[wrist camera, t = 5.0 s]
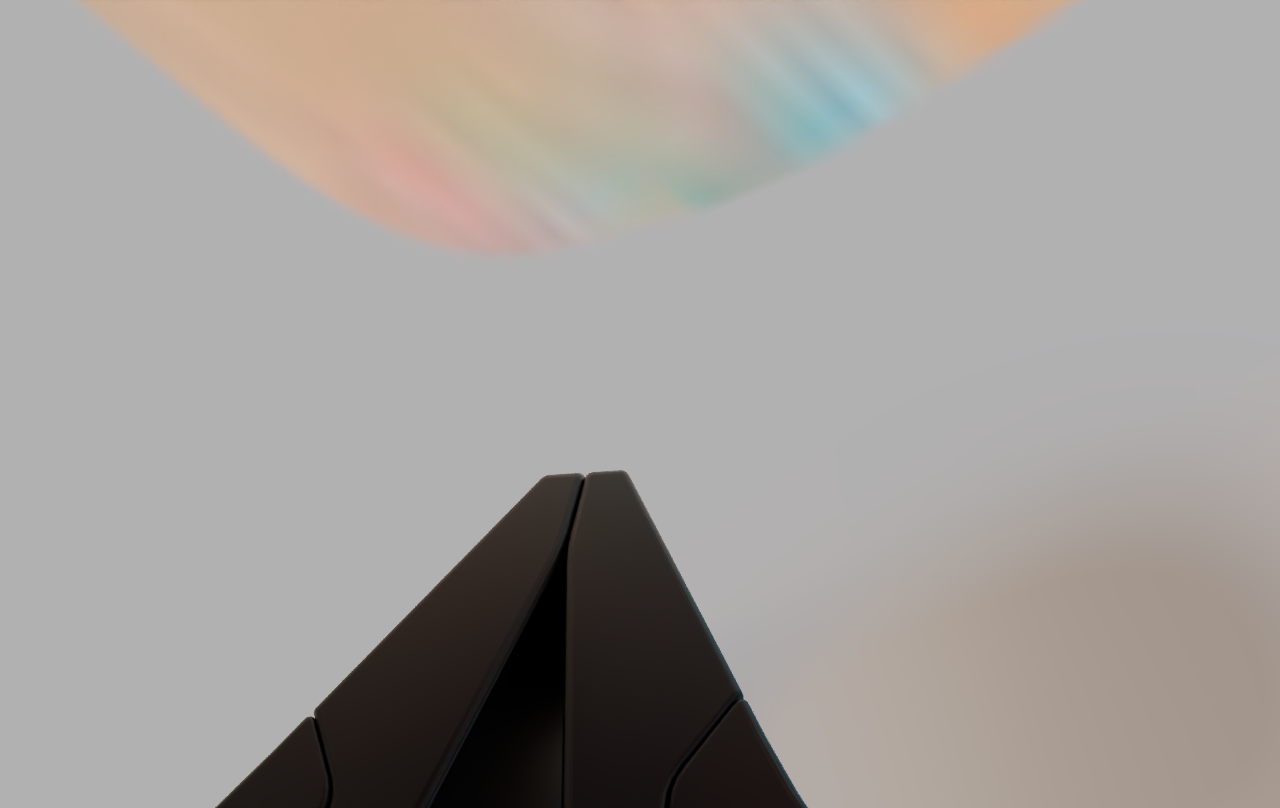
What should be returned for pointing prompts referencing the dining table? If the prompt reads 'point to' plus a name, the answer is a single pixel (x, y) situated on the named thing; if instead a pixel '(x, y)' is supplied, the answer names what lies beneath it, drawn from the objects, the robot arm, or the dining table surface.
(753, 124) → the dining table surface
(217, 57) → the dining table surface
